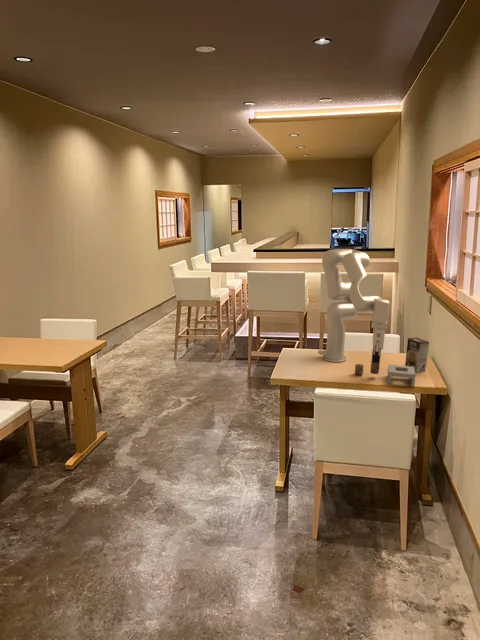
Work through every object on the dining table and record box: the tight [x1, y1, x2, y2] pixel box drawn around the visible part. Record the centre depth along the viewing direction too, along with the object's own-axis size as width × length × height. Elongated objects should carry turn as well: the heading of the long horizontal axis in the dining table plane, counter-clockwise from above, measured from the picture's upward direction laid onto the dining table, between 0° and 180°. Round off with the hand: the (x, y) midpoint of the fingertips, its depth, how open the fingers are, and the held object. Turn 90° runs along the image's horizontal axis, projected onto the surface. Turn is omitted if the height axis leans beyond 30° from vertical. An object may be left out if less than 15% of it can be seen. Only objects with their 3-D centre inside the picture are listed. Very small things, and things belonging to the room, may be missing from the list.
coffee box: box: [404, 336, 430, 374], centre depth 261 cm, size 9×6×16 cm
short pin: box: [354, 363, 364, 377], centre depth 252 cm, size 4×4×5 cm
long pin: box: [370, 347, 382, 375], centre depth 246 cm, size 4×4×15 cm
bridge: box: [387, 363, 416, 387], centre depth 244 cm, size 12×12×6 cm
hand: (375, 360), depth 247 cm, fingers closed on long pin, 4 cm apart
